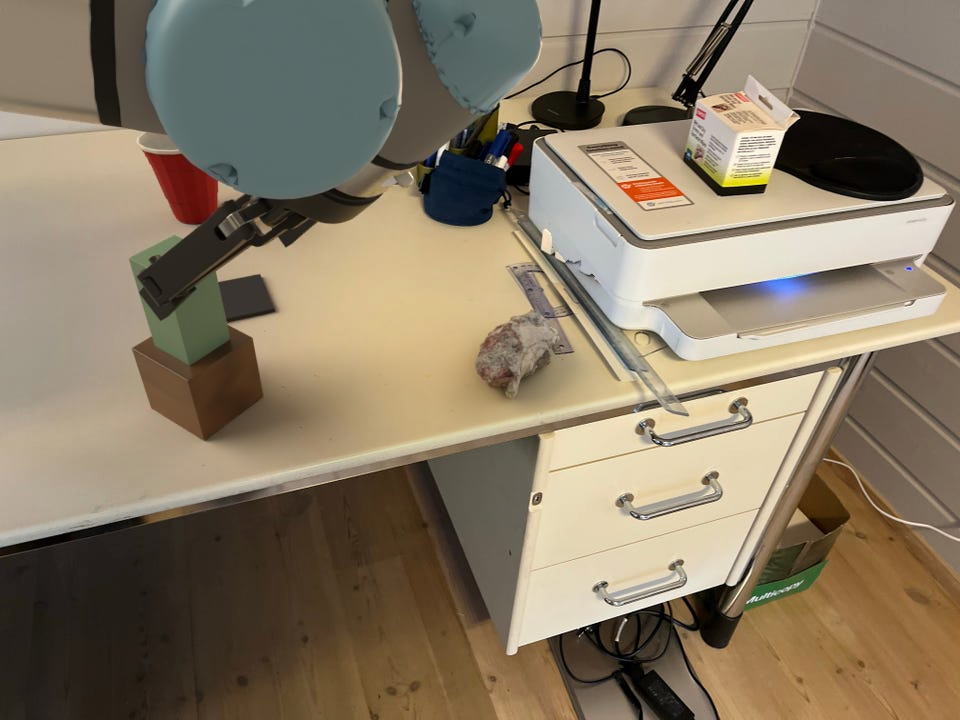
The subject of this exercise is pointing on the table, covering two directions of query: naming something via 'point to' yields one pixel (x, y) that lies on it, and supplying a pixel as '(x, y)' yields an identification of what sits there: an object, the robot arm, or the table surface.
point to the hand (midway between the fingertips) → (220, 266)
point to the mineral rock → (515, 351)
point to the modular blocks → (549, 245)
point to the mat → (245, 297)
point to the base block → (201, 383)
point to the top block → (185, 314)
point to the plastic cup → (180, 179)
